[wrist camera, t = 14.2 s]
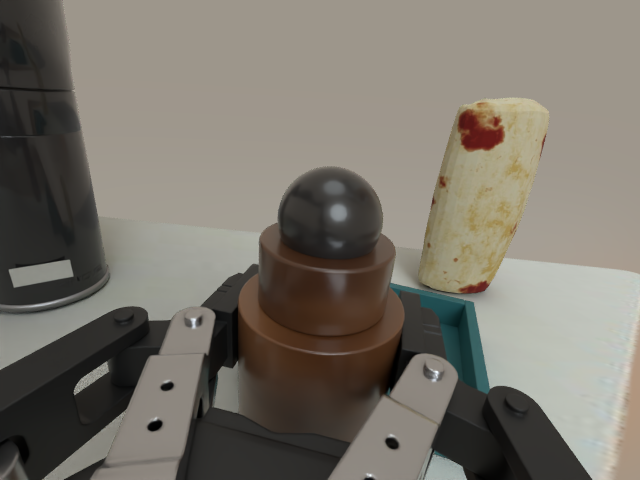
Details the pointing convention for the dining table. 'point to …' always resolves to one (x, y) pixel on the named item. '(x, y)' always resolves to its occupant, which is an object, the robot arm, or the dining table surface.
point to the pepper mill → (320, 311)
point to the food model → (481, 192)
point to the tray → (457, 336)
